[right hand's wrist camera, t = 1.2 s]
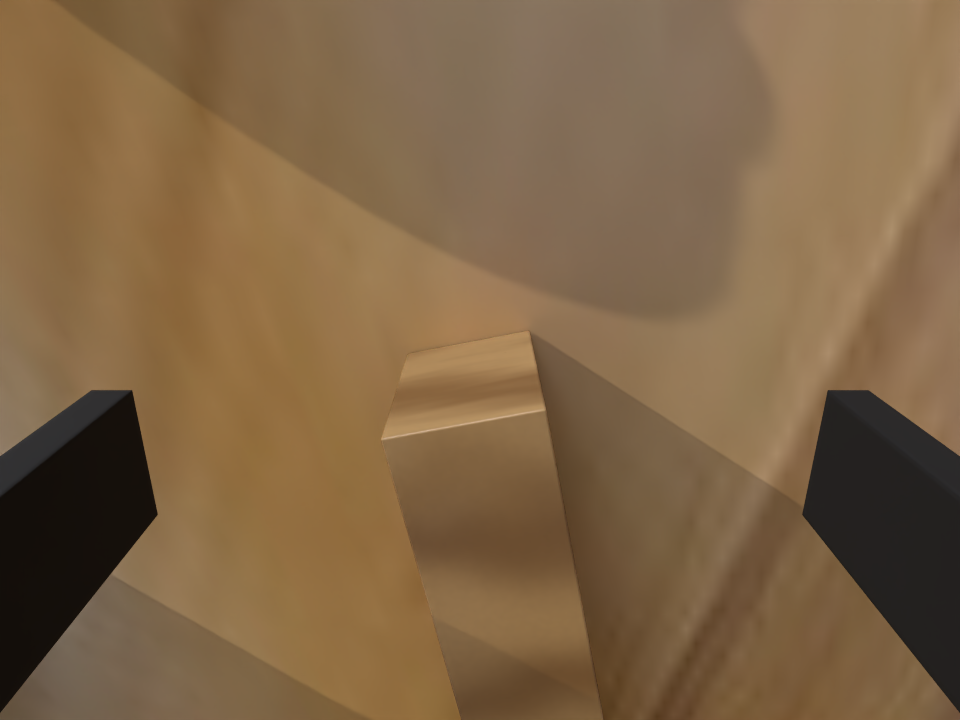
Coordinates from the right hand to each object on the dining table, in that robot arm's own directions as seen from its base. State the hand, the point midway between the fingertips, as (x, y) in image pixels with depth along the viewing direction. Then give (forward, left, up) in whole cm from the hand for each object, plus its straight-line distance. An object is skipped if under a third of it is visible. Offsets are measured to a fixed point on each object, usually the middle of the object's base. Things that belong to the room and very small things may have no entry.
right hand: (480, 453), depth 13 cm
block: (-17, +11, -17) cm, 27 cm away
